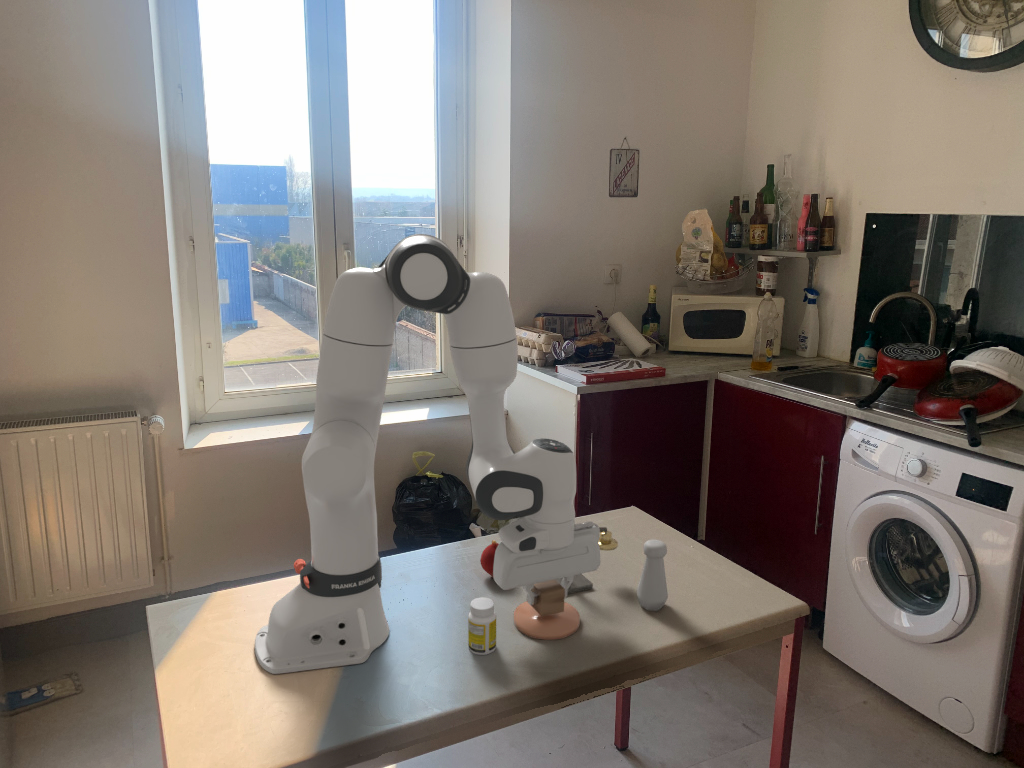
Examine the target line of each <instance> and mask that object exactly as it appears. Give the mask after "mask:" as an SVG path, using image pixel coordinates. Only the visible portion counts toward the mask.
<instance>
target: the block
mask: <svg viewBox="0 0 1024 768" xmlns="http://www.w3.org/2000/svg"><path fill="white" fill-rule="evenodd" d="M531 591H532V592H533V591H534V592H535V593H536V594H537V595H538V604H535V605H531V606H532V607H533V608H534V609H535V610H536V611H537V612H538V613H539V615H540V616H541V617H543V616H548V615H552V614H556V613H560V612H564V602H565V598H564V596H565V589H564V588H563V587H562V586H561V585H560V584H559V583H558V582H557V581H556V580H550V581H545V582H541V583H536V584H534V588H533V589H531Z"/></svg>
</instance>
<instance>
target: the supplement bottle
mask: <svg viewBox="0 0 1024 768" xmlns="http://www.w3.org/2000/svg"><path fill="white" fill-rule="evenodd" d="M469 604H470V605H469V606H470V608H469V610H470V612H469V613H468V617H467V627H468V629H467V630H468V631H467V632H468V633H467V635H468V636H467V638H468V649H469V650H470V651H469V652H471V653H472V654H474V655H478V656H479V655H480V656H484V655H489V654H491V653H493V652H494V651H495V650H496V649H497V613H496V612H495V603H494V600H493V599H491V598H489V597H482V596H481V597H476V598H473V599H472V600H471V602H470V603H469Z"/></svg>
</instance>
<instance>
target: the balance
mask: <svg viewBox="0 0 1024 768" xmlns="http://www.w3.org/2000/svg"><path fill="white" fill-rule="evenodd" d="M599 529H600V536H599V540H598V541H599V547H600V551H613V550H616V549H617V548H618V546H619V543H618V540H617V539H614V538H612V536H613V532H612V531H610V530H608V528H607V526H605V527H604V526H599ZM562 579H563V578H559V579H555V580H556V581H557V582H558V583H559V584H561V581H562ZM593 586H594V585H593V582H592V581H590V579H588V578H587V577H586V576H585V575H583V573H582V574H578V575H574V580H573V582H572V583H571V585H570V587H569V588H568V589H567V595H569V594H573V593H578V592H583V591H586V590H587V591H588V590H591V589H593V588H594V587H593Z"/></svg>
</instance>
